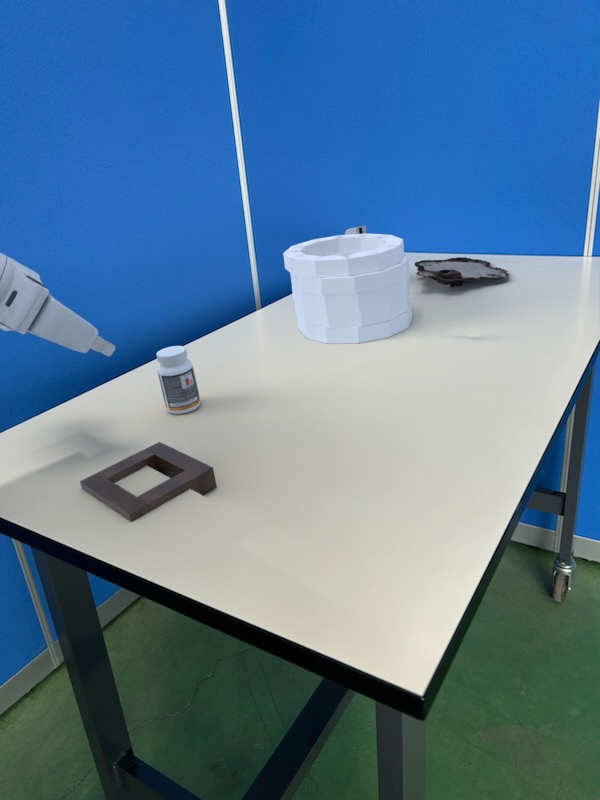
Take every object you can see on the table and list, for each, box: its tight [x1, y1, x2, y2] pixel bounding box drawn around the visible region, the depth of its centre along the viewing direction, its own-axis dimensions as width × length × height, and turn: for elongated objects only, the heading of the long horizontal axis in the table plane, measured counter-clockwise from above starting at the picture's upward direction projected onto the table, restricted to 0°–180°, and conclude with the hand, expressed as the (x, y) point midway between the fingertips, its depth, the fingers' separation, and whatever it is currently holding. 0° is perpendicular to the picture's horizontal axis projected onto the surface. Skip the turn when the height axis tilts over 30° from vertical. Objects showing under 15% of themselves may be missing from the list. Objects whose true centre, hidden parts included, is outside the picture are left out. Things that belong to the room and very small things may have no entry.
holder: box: [79, 441, 218, 523], centre depth 78 cm, size 12×12×3 cm
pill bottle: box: [156, 345, 201, 415], centre depth 100 cm, size 6×6×10 cm
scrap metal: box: [414, 256, 510, 289], centre depth 151 cm, size 23×4×30 cm
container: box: [282, 232, 413, 345], centre depth 127 cm, size 25×24×16 cm
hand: (100, 343), depth 91 cm, fingers open, 8 cm apart
